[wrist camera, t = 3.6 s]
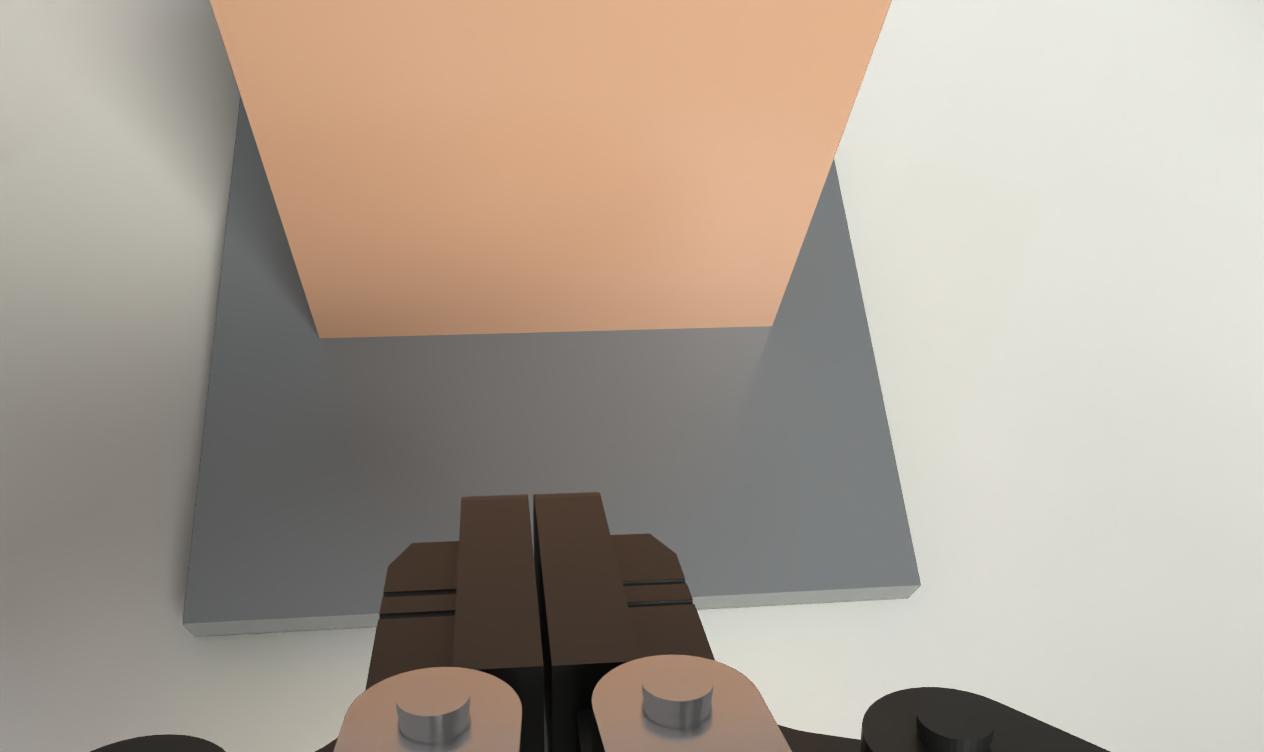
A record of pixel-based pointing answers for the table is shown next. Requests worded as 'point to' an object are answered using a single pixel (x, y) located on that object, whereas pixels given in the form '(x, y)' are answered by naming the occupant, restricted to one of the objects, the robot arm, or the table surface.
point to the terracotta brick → (546, 154)
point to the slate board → (536, 440)
